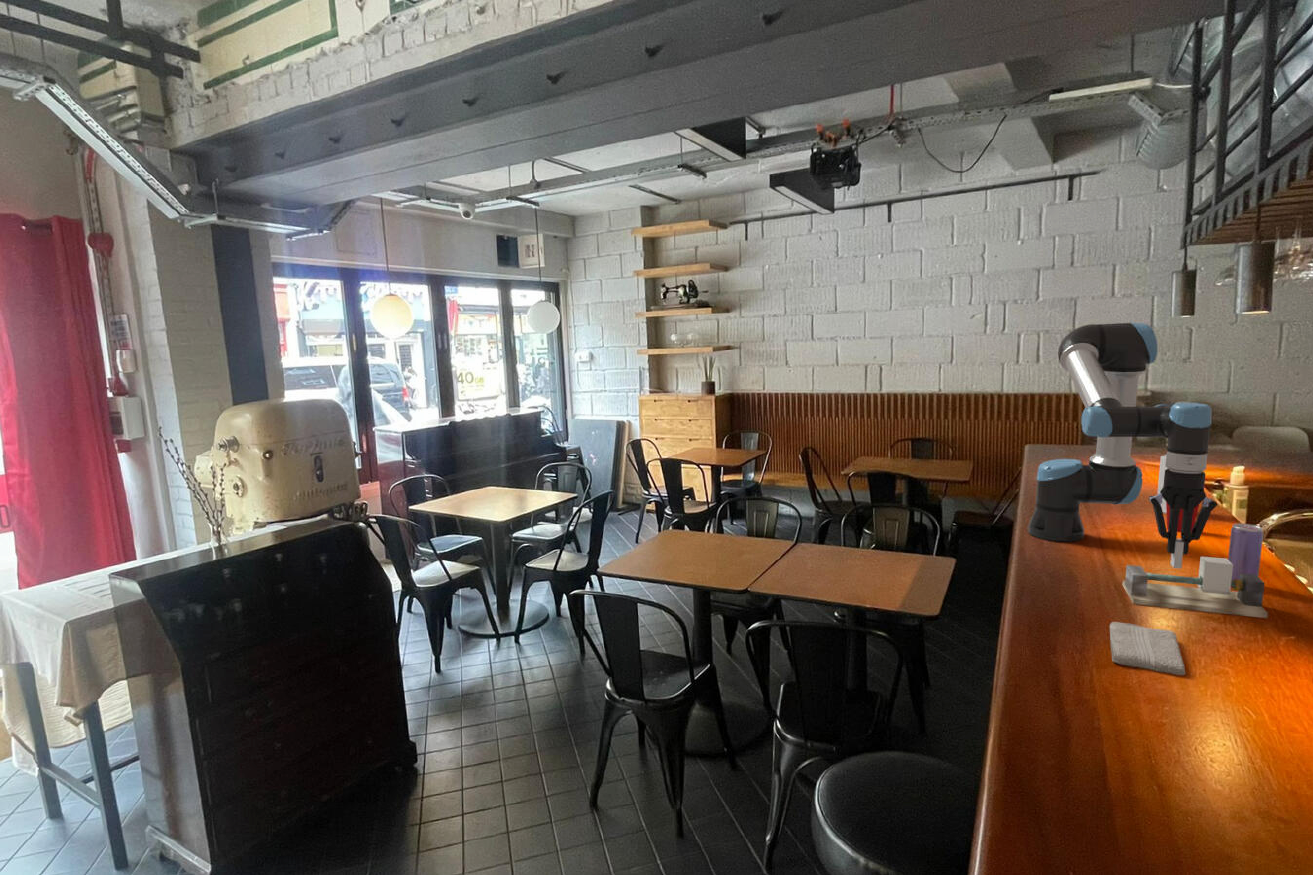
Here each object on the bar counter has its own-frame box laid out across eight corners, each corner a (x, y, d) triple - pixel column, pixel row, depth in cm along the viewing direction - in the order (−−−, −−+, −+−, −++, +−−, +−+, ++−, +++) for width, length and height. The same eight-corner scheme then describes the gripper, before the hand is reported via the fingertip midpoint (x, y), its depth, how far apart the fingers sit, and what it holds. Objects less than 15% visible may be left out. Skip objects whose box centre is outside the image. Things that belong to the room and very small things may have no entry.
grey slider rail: (1133, 603, 162) (1135, 575, 161) (1122, 585, 173) (1124, 558, 172) (1267, 618, 152) (1270, 588, 151) (1247, 597, 163) (1250, 569, 162)
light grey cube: (1202, 592, 159) (1206, 562, 158) (1197, 586, 163) (1200, 556, 162) (1229, 594, 157) (1233, 564, 156) (1223, 588, 161) (1227, 558, 160)
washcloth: (1173, 640, 145) (1175, 626, 144) (1187, 680, 130) (1188, 665, 129) (1106, 629, 151) (1107, 616, 150) (1112, 666, 136) (1113, 651, 135)
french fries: (1195, 530, 212) (1199, 492, 210) (1196, 533, 209) (1200, 495, 207) (1161, 526, 216) (1164, 489, 214) (1162, 529, 213) (1165, 492, 211)
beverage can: (1250, 591, 166) (1256, 532, 164) (1220, 583, 172) (1226, 525, 169) (1261, 585, 169) (1268, 527, 166) (1232, 578, 174) (1239, 521, 172)
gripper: (1155, 472, 158) (1146, 568, 162) (1225, 475, 153) (1215, 575, 157) (1147, 465, 164) (1139, 558, 169) (1214, 467, 159) (1204, 563, 163)
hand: (1175, 566), depth 163 cm, fingers closed
